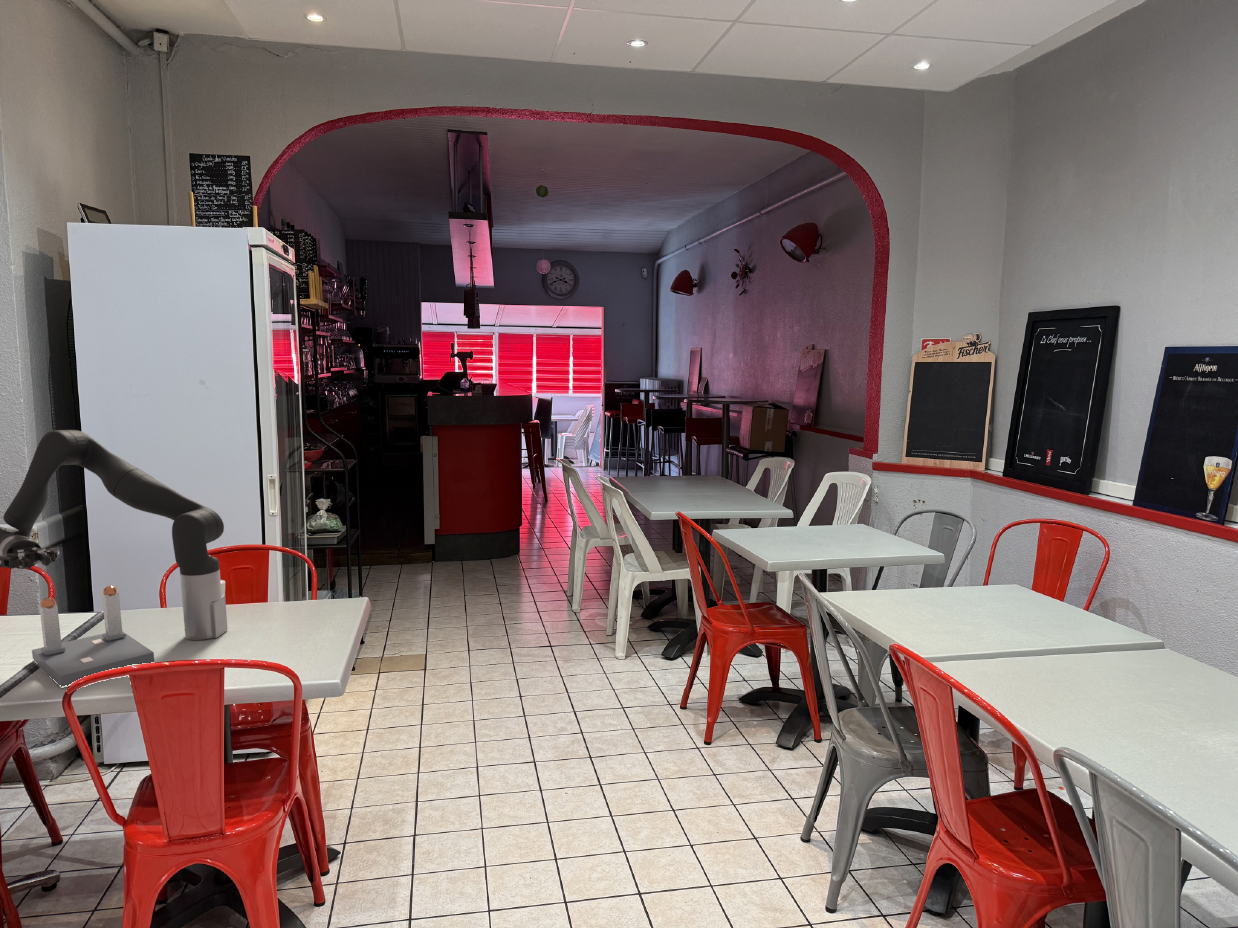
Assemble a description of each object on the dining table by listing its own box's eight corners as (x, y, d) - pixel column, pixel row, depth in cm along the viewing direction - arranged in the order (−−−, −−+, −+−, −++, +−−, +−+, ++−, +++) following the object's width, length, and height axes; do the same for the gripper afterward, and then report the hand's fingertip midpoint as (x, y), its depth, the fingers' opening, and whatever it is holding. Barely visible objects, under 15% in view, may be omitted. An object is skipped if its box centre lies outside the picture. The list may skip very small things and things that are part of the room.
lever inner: (102, 637, 204) (97, 586, 202) (120, 633, 207) (116, 582, 205) (108, 640, 202) (103, 589, 200) (126, 636, 205) (121, 585, 203)
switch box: (33, 661, 197) (31, 649, 197) (121, 640, 211) (119, 628, 211) (61, 688, 181) (60, 674, 181) (154, 664, 195) (153, 651, 195)
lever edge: (41, 651, 195) (35, 597, 193) (60, 646, 198) (55, 594, 196) (45, 655, 192) (39, 601, 190) (65, 650, 195) (59, 597, 193)
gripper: (-17, 541, 202) (0, 553, 190) (51, 532, 212) (70, 542, 200) (-13, 571, 203) (4, 584, 191) (54, 560, 213) (73, 572, 201)
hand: (38, 562), depth 196 cm, fingers open, 3 cm apart
